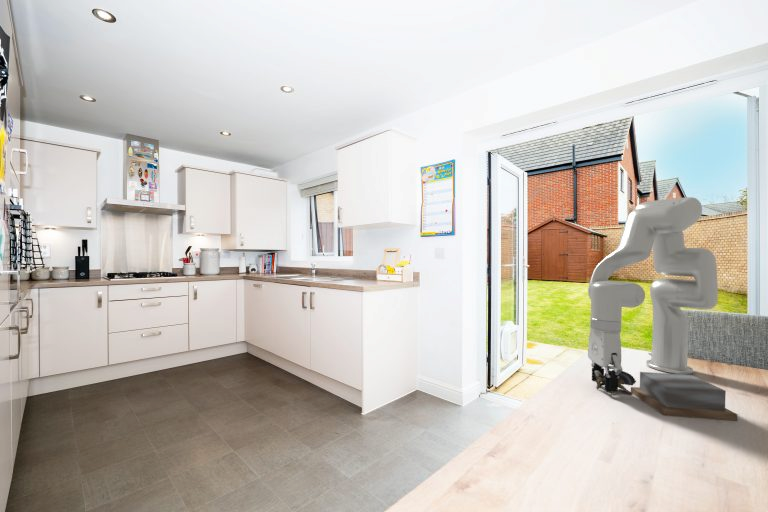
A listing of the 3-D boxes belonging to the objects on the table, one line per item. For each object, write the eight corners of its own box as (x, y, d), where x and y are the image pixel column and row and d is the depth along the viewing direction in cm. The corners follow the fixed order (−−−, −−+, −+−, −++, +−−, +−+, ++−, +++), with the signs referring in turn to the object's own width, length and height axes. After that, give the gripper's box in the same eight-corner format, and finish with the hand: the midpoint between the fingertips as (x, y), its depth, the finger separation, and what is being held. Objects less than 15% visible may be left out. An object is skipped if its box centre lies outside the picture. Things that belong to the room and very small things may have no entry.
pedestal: (630, 392, 97) (631, 369, 97) (692, 396, 95) (692, 373, 95) (664, 415, 83) (664, 389, 83) (737, 420, 81) (738, 393, 81)
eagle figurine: (604, 392, 93) (640, 389, 92) (594, 366, 97) (629, 363, 96) (597, 398, 100) (631, 395, 98) (588, 373, 104) (620, 370, 102)
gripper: (578, 319, 107) (577, 374, 107) (607, 331, 90) (605, 397, 90) (604, 320, 106) (602, 376, 106) (637, 332, 89) (636, 400, 89)
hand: (604, 385), depth 98 cm, fingers closed on eagle figurine, 6 cm apart
